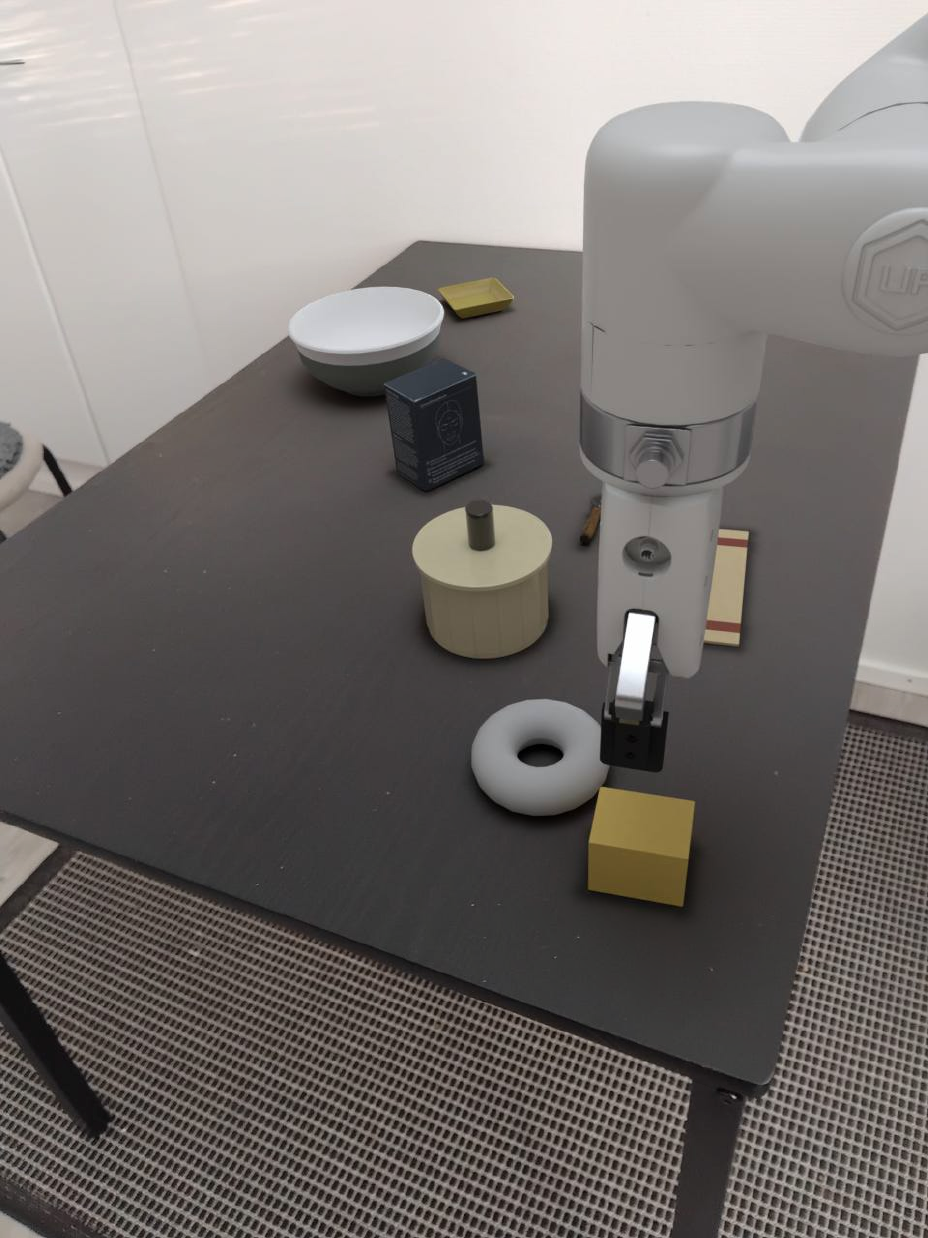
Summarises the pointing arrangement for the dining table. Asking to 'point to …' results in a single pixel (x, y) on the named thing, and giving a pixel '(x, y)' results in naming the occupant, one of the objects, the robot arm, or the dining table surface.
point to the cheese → (640, 846)
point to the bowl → (367, 336)
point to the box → (435, 423)
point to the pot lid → (482, 547)
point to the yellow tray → (477, 297)
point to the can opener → (591, 522)
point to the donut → (539, 785)
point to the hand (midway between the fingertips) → (643, 698)
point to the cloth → (727, 589)
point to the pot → (487, 617)
